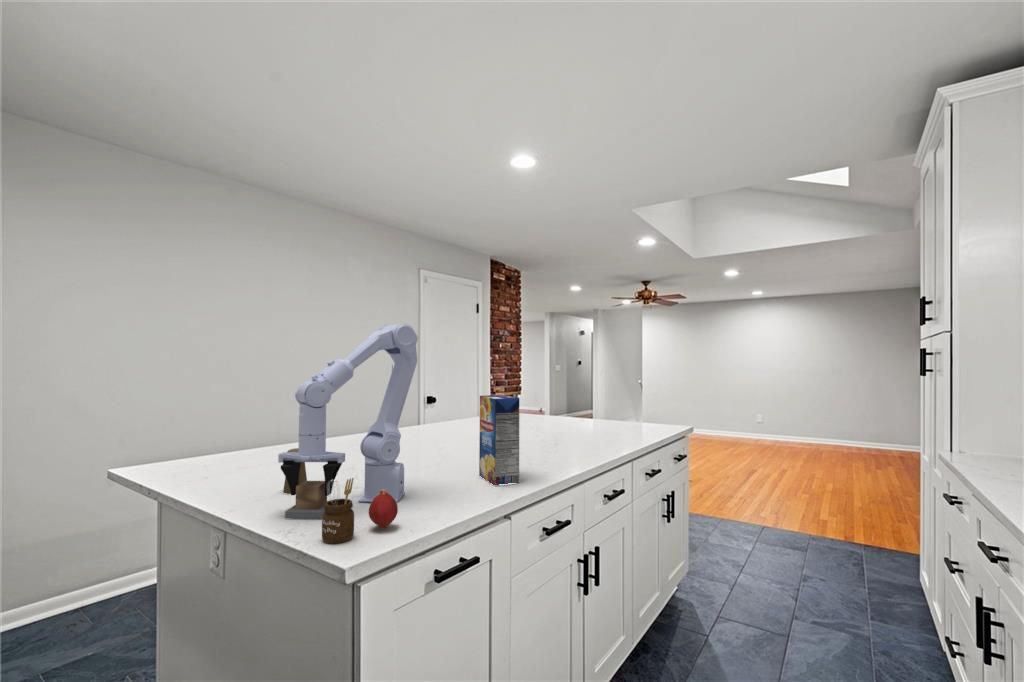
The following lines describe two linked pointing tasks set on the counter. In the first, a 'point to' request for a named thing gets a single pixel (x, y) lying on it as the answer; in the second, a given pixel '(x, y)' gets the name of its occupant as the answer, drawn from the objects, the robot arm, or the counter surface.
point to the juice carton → (499, 439)
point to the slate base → (304, 513)
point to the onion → (383, 509)
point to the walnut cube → (310, 495)
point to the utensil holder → (338, 518)
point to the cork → (301, 474)
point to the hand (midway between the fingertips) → (311, 494)
